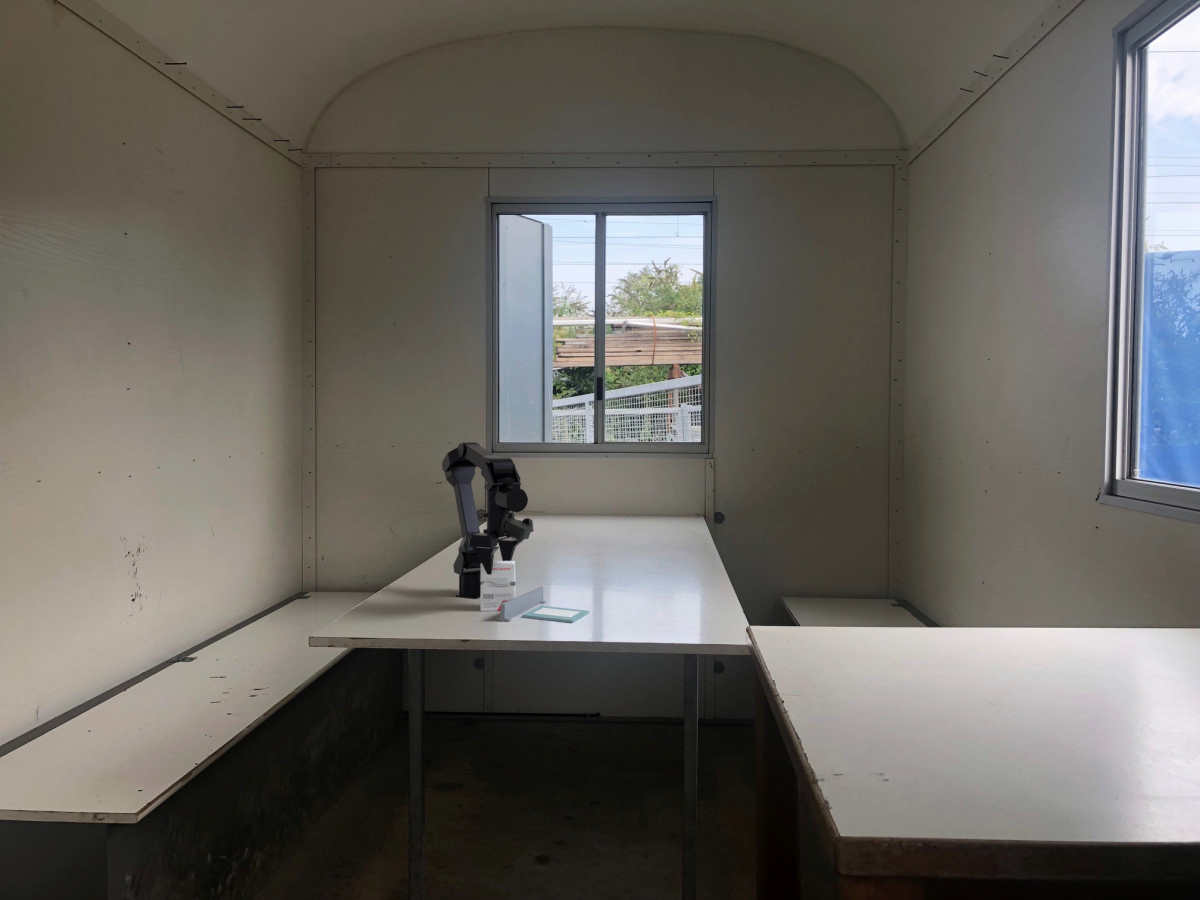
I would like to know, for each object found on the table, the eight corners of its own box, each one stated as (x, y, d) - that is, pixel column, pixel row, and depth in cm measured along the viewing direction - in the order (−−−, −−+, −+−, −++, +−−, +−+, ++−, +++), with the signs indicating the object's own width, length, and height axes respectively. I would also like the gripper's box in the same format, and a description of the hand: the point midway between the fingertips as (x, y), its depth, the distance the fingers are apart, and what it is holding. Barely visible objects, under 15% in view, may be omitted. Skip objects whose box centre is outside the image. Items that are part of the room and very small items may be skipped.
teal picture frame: (522, 617, 177) (522, 614, 177) (541, 608, 187) (541, 605, 187) (572, 623, 172) (572, 620, 172) (589, 613, 182) (589, 610, 182)
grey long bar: (497, 620, 174) (497, 603, 174) (536, 602, 193) (536, 586, 193) (508, 621, 173) (508, 604, 173) (546, 603, 192) (546, 587, 191)
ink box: (515, 606, 188) (515, 559, 188) (515, 611, 183) (515, 563, 183) (481, 606, 188) (481, 560, 187) (480, 611, 183) (480, 563, 182)
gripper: (508, 513, 173) (508, 580, 173) (544, 506, 190) (544, 567, 191) (467, 511, 177) (467, 577, 178) (506, 504, 195) (505, 564, 195)
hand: (498, 571), depth 185 cm, fingers open, 8 cm apart
